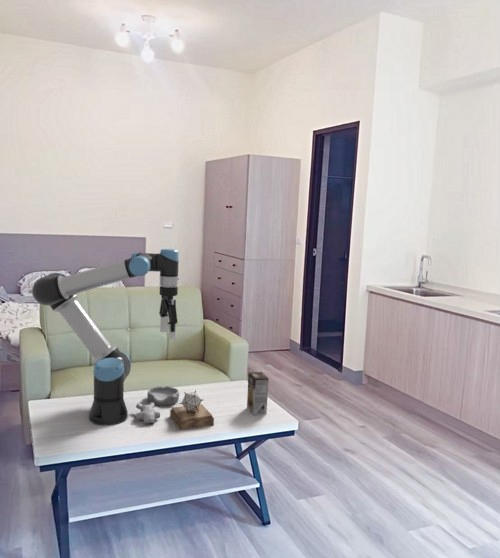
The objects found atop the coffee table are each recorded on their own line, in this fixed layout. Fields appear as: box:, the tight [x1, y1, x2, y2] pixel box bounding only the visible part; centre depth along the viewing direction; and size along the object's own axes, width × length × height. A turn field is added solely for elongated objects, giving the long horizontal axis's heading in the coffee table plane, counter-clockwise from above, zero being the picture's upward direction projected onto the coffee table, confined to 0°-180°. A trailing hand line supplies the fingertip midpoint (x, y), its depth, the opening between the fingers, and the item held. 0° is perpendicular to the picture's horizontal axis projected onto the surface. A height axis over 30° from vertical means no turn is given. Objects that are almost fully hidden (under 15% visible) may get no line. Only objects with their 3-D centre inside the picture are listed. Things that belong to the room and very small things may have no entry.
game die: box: [179, 390, 204, 413], centre depth 218 cm, size 9×8×10 cm
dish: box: [146, 385, 180, 406], centre depth 240 cm, size 14×14×5 cm
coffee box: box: [246, 371, 269, 416], centre depth 232 cm, size 9×6×16 cm
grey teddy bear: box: [135, 402, 161, 424], centre depth 220 cm, size 10×5×15 cm
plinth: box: [169, 403, 215, 430], centre depth 219 cm, size 14×14×4 cm
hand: (167, 335), depth 229 cm, fingers open, 13 cm apart
